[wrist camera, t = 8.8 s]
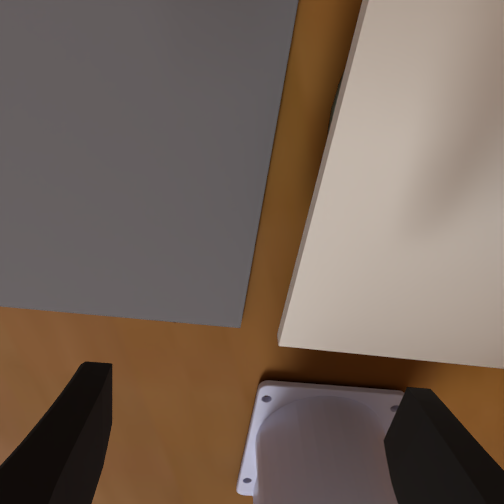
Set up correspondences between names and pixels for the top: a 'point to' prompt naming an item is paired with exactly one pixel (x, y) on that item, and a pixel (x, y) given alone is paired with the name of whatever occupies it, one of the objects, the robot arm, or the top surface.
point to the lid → (410, 193)
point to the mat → (136, 153)
